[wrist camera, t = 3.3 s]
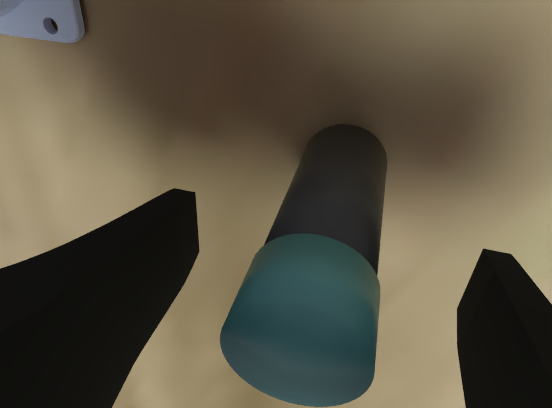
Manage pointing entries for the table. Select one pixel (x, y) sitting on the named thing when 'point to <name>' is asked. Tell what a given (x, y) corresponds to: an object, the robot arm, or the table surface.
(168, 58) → the table surface
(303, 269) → the marker
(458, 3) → the table surface
